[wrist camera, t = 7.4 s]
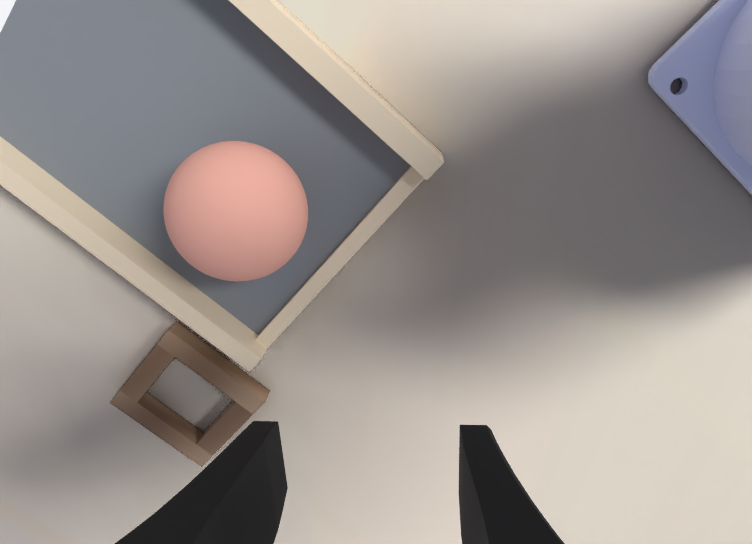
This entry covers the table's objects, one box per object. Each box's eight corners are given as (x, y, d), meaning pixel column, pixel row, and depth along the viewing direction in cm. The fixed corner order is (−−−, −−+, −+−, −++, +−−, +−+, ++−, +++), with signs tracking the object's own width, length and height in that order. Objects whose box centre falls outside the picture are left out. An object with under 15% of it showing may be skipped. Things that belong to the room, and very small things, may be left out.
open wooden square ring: (270, 391, 22) (264, 401, 22) (208, 454, 24) (201, 466, 23) (176, 321, 22) (168, 330, 21) (119, 392, 23) (109, 402, 22)
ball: (342, 217, 19) (322, 261, 15) (245, 273, 20) (201, 328, 16) (272, 107, 17) (227, 120, 13) (172, 173, 19) (102, 205, 14)
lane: (442, 153, 18) (446, 172, 15) (262, 349, 22) (233, 399, 18) (-206, -449, 14) (-408, -615, 10) (-294, -78, 17) (-464, -113, 14)
